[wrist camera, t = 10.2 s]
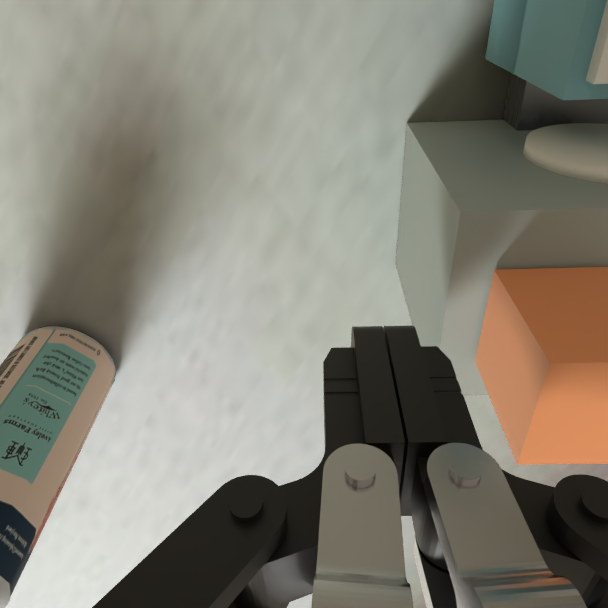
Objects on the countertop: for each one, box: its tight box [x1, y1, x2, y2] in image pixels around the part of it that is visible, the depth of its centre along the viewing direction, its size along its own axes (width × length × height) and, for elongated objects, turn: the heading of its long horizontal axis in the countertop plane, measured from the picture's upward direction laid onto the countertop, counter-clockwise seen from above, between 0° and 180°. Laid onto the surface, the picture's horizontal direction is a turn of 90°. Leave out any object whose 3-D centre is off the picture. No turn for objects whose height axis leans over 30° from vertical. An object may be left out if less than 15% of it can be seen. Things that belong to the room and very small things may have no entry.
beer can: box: [0, 326, 116, 608], centre depth 20 cm, size 5×5×12 cm
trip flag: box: [475, 267, 608, 465], centre depth 12 cm, size 3×3×4 cm
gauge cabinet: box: [396, 119, 608, 396], centre depth 16 cm, size 6×10×8 cm, turn 92°
